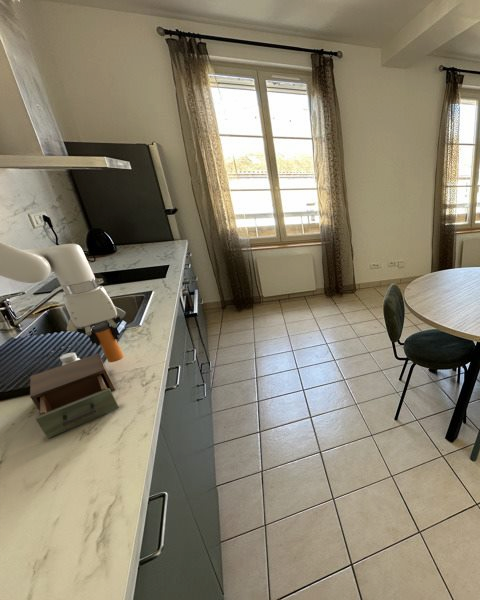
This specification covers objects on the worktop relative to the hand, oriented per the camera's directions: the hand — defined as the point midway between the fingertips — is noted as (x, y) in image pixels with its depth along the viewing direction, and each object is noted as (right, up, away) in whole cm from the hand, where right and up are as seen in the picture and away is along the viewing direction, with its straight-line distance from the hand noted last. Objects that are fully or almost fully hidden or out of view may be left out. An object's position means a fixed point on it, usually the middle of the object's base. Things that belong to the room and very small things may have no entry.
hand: (107, 340), depth 103 cm
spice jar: (0, -6, +3) cm, 7 cm away
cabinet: (+1, -14, -10) cm, 17 cm away
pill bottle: (-8, -11, -1) cm, 14 cm away
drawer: (+11, -17, -19) cm, 27 cm away
